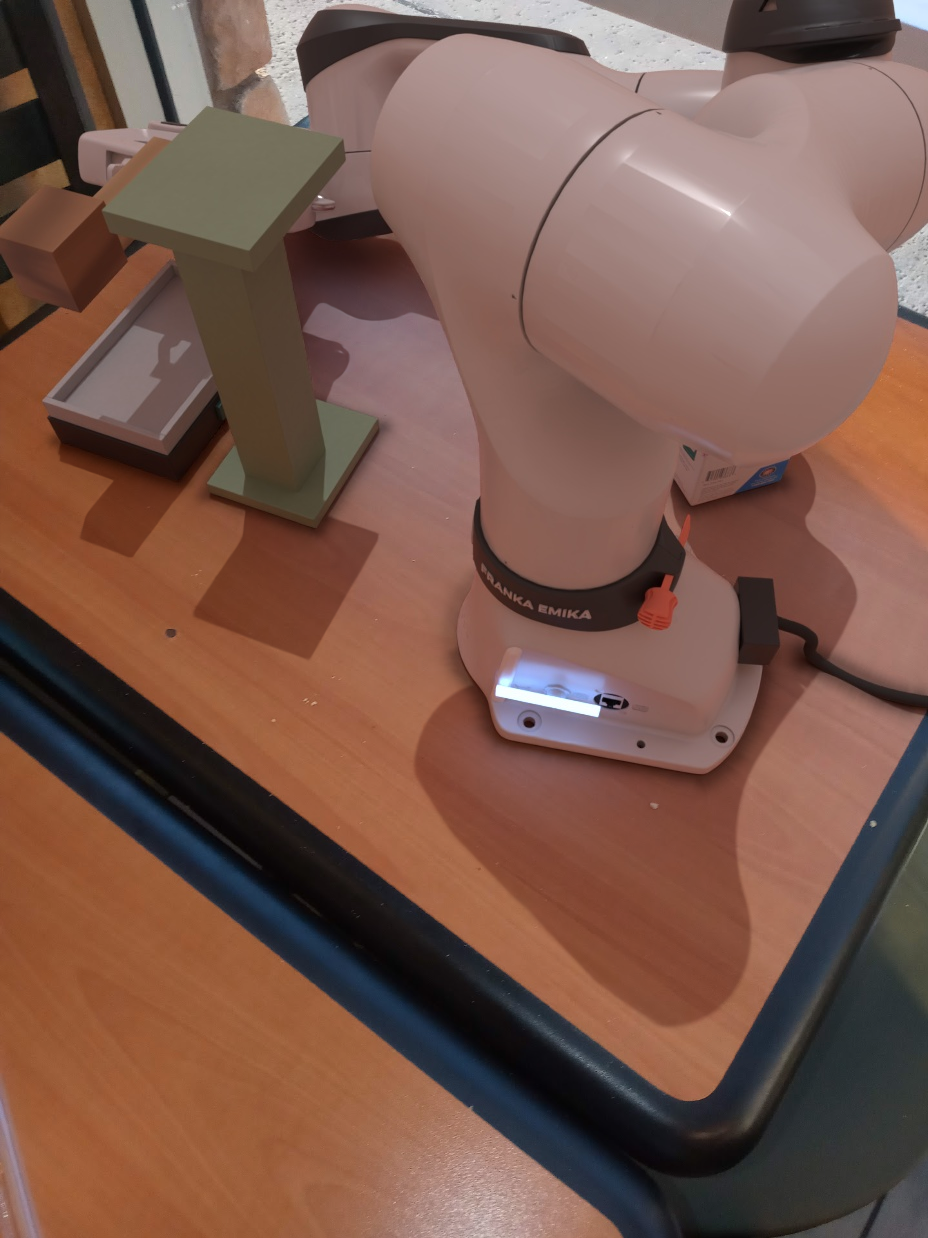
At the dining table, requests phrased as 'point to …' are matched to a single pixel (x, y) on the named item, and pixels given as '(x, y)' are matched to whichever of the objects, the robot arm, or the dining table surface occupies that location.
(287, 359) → the stand
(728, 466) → the ink box
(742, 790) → the dining table surface
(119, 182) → the mallet
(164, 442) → the scale
